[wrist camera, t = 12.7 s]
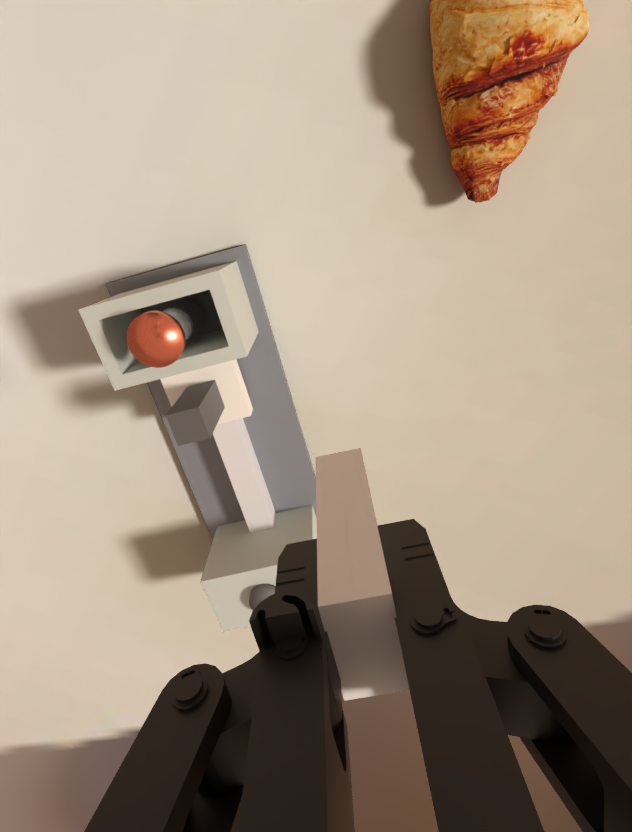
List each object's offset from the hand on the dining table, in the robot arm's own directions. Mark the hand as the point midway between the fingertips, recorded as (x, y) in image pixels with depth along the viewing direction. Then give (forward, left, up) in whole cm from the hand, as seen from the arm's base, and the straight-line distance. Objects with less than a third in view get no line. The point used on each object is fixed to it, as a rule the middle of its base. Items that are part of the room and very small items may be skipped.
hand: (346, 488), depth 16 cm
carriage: (+2, -11, -26) cm, 28 cm away
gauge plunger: (-4, -11, -25) cm, 28 cm away
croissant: (-16, +17, -28) cm, 37 cm away
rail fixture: (+8, -11, -28) cm, 31 cm away
